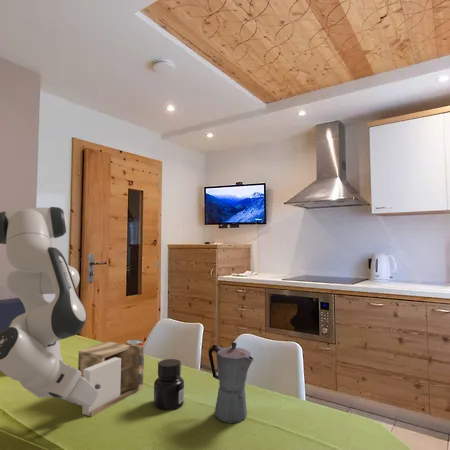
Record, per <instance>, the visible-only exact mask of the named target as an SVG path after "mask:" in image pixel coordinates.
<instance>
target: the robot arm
mask: <svg viewBox="0 0 450 450" xmlns="http://www.w3.org/2000/svg"><path fill="white" fill-rule="evenodd" d="M68 227H69V219H68V217H67V214H66V212H64V210H63V209H62V208H61V207H59V206H58V207H57V206H50V207H28V208H24V209H23V208H22V209H21V208H20V209H15V210H10V211H1V212H0V244H2V245H6V247H5V248H6V250H5V251H6V253H5V254H6V258H7V260H8V263H9V264H10V265H11V266H12V267H13V268H12V270H11V271H10V272H9V273H8V275H7V278H6V286H7V289H8V290H9V291H10V292H11V293H13V294H14V295H15V296H17V297H18V298H19V300H20V301H21V303H22V304H23V307H24V311H25V312H23V313H22V314H19V315H18V316H16V317H14V318H12V320H11V321H10V323H9V325H8V327H6V328H4V329H2V330H0V371H1V372H2V373H3V374H4V375H6V376H7V377H8V378H9V379H11V380H13V381H17V382H19V383H20V385H21V386H22V387H23V389H26V390H27V391H28V392H30V393H31V394H33V395H34V396H35V397H37V398H57V399H60V400H65V401H67V402H70V403H72V404H75V405H78V406H82V405H83V406H87V407H91V406H92V404H93V403H94V401H95V399H96V398H97V395H98V392H97V390H96V389H95V388H94V387H93V386H92V385H91V384H90V383H89V382H88V381H87V380H86V379H85V378H83V377H81V374H82V373H81V372H80V371H79V370H78V368H75V367H73V366H71V365H69V364H66V363H65V362H64V360H63V357H62V355H61V342H60V340H64V339H67V338H71V337H73V336H74V337H75V336H77V335H79V334H80V333H81V332H82V330H83V328H84V326H85V324H86V321H87V319H88V318H87V311H86V308H85V307H84V304H83V302H82V300H81V299H80V297H79V294H78V291H77V287H78V286H79V284H80V280H81V278H80V274H79V272H78V270H77V269H76V268H75V267H73V266H71V265H69V264H68V263H67V261H66V258H65V256H64V255H63V253H62V252H61V251H60V249H58V248H56V246H55V245H56V244H55V241H54V239H57V238H61V237H63V236H64V235H65V234H66V233H67V229H68ZM44 295H54V298H53V299H52V301H50V302H49V301H47V300H46V299H45V297H44Z"/></svg>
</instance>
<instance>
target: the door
mask: <svg viewBox="0 0 450 450" xmlns="http://www.w3.org/2000/svg"><path fill="white" fill-rule="evenodd" d="M83 378H85V379H86V380H87V381H88V382H89V383H90V384H91V385H92V386H93V387H94V388H95V389H96V390H97V392H98V395H97V398H96V399H95V401H94V403H93V404H92V406H91V407H87V406H83V405H81V407H82V410H81V413H82V415H84V416H85V415H86V416H89V414H90V412H91V411H93V410H95V409H97V408H98V407H100V406H102V405H104V404H106V403H108V402H110V401H112V400H113V399H115V398H117V397H119V396H121V393H120V386H121V358H117V357H114V358H112V359H109V360H107V361H104V362H101V363H99V364H96V365H94V366H91V367H88V368H86V369H84V373H83ZM89 417H90V416H89Z"/></svg>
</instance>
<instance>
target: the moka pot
mask: <svg viewBox="0 0 450 450" xmlns="http://www.w3.org/2000/svg"><path fill="white" fill-rule="evenodd" d="M230 344H231V346H229V347H222V346H218V345H216V344H213V345H212V346H211V347H210V348H209V350H208V358H209V363H210V368H211V373H212V377H213V378H214V379H216V380H218V381H219V382H218V383H219V387H218V392H217V397H216V403H215V408H214V416H215V417H216V418H217V420H220V421H222V422H224V423H227V424H237V423H240V422H243V421H244V420H245V419H246V418H247V416H248V415H247V414H248V411H247V400H246V399H247V398H246V389H245V388H246V381H247V378H248V377H247V376H248V371H249V368H250V367H251V364H252V362H254V361H255V360H254V357H253V356H252V355H251V352H250V351H248V350H247V349H245V348H242V347H237V345H238V344H237V342H231V343H230ZM213 352H215V354H216V365H217V373H216V370H215V368H216V367H215V363H214V357H213Z"/></svg>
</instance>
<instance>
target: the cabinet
mask: <svg viewBox="0 0 450 450" xmlns="http://www.w3.org/2000/svg"><path fill="white" fill-rule="evenodd" d="M143 349H144V350H145V345H144V344H143V345H138V344H133V345H126V344H125V343H118V342H112V341H105V342H102V343H99V344H96V345H93V346H90V347H86V348H84V349H80V350H78V358H77V359H78V360H77V361H78V365H77V369H78V370H79V371H80V372H81V373H82V374H81V377H83V373H84V369H86V368H88V367H91V366H94V365H96V364H99V363H101V362H104V361H107V360H109V359H112V358H114V357H117V358H121V386H120V396H119V397H117V398H115V399H113V400H112V401H110V402H108V403H106V404H104V405H102V406H100V407H98V408H97V409H95V410H93V411H91V412H90V414H89V417H90V418H91V417H94V416H96V415H98V414H99V413H101V412H103V411H105V410H107V409H108V408H111V407H112V406H114V405H115V404H118V403H119V402H121V401H123V400H125V399H126V398H128V397H130V396H132V395H134V394H135V393H137V392H139V391H141V390H143V387H144V385H143V384H144V370H143V364H144V365H145V354H144V355H143ZM127 390H128V391H127ZM125 391H127V392H125ZM122 392H124V393H123V394H122Z"/></svg>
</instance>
